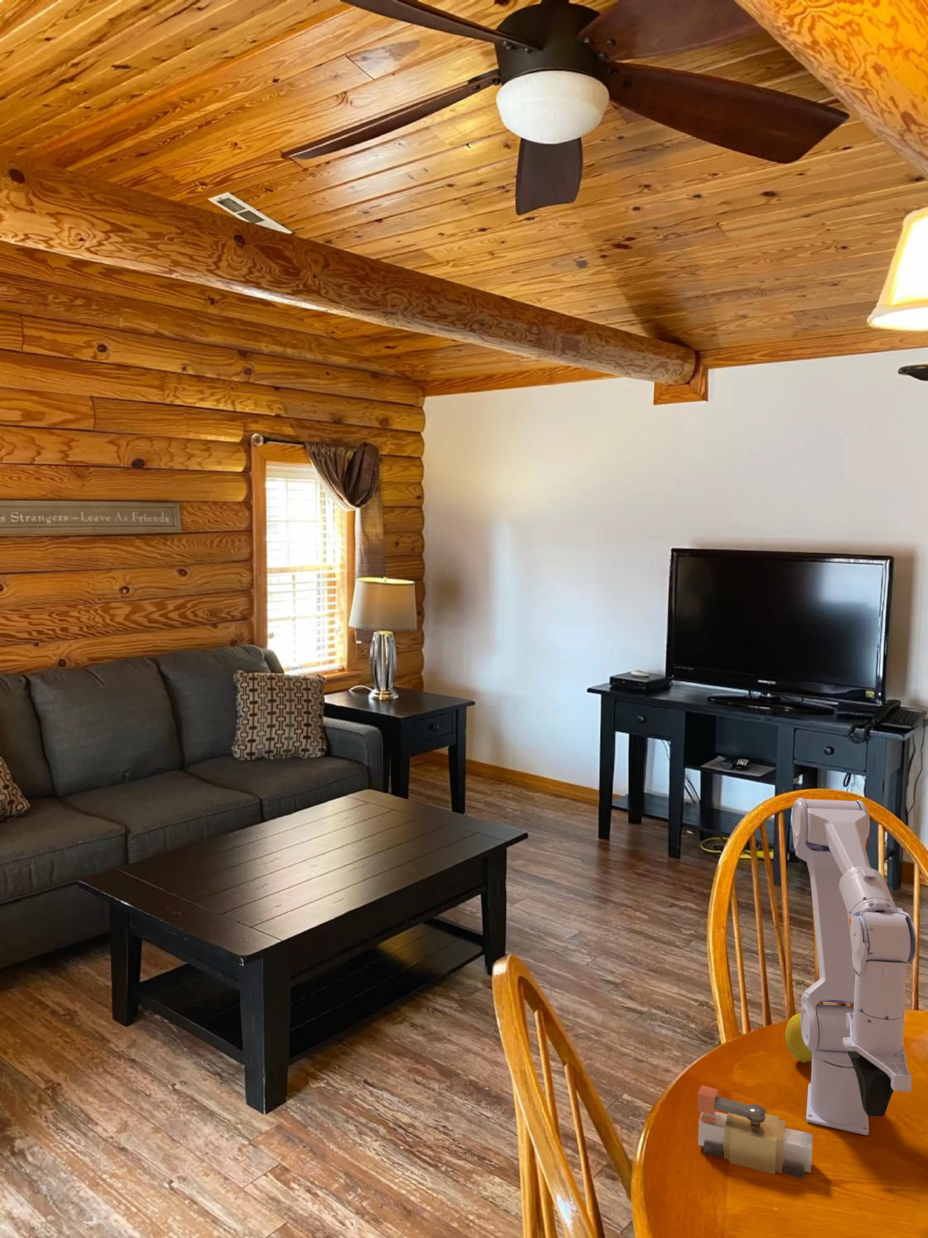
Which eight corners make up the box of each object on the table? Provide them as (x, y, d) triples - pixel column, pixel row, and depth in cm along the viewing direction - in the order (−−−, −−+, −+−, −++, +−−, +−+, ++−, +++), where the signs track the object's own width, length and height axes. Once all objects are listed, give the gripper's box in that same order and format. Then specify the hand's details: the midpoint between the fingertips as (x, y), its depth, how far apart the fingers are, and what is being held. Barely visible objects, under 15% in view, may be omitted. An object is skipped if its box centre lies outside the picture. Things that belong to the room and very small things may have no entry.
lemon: (823, 1075, 140) (825, 1024, 140) (784, 1069, 142) (787, 1018, 141) (820, 1056, 146) (823, 1007, 145) (783, 1050, 147) (785, 1001, 146)
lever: (766, 1120, 122) (767, 1102, 122) (763, 1130, 120) (763, 1112, 119) (701, 1101, 126) (701, 1085, 125) (697, 1111, 123) (697, 1094, 123)
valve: (702, 1130, 127) (703, 1095, 126) (811, 1156, 122) (813, 1120, 121) (696, 1154, 122) (697, 1118, 121) (810, 1183, 116) (811, 1146, 116)
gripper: (824, 980, 122) (820, 1079, 123) (870, 1039, 107) (865, 1150, 108) (878, 981, 122) (874, 1080, 123) (931, 1040, 107) (926, 1151, 108)
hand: (873, 1113), depth 116 cm, fingers closed
